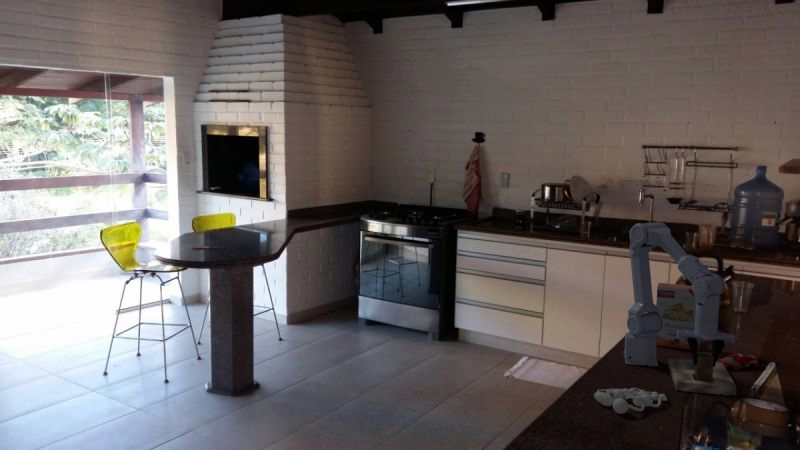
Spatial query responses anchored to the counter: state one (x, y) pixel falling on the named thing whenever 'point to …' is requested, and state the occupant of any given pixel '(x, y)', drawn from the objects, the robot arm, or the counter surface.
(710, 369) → the walnut peg
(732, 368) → the race car
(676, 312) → the cracker box
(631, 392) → the tangled rod sculpture
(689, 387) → the birch board
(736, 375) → the counter surface
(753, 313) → the counter surface
